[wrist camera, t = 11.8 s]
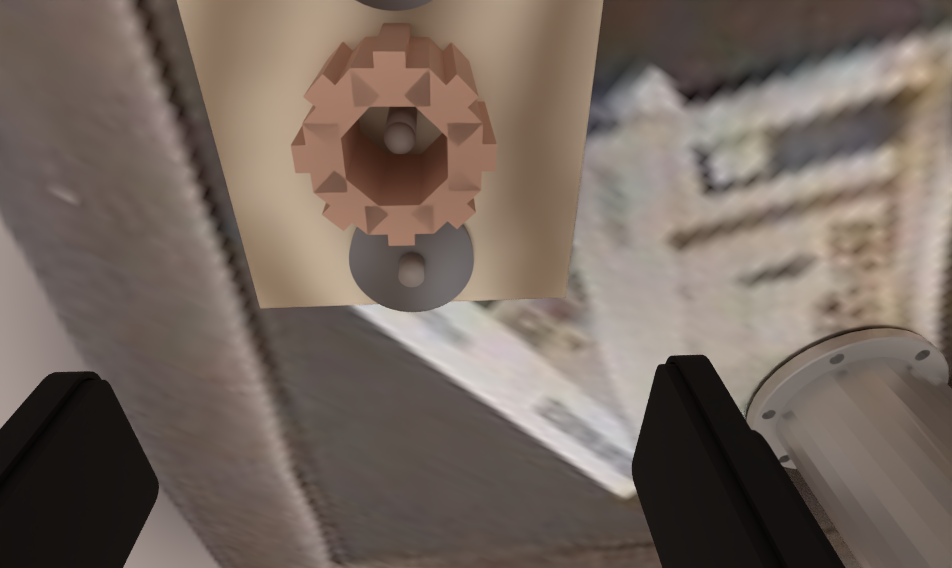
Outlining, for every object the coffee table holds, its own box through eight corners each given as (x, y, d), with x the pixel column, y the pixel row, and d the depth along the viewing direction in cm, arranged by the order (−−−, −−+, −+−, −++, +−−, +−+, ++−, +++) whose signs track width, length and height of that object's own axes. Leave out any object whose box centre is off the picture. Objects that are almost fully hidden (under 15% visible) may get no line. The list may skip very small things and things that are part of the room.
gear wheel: (486, 23, 21) (500, 52, 17) (482, 189, 25) (492, 243, 21) (304, 22, 21) (273, 50, 17) (328, 190, 25) (308, 247, 21)
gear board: (619, -192, 19) (668, -217, 15) (561, 286, 30) (580, 341, 26) (134, -204, 18) (54, -233, 14) (265, 296, 29) (240, 355, 25)
